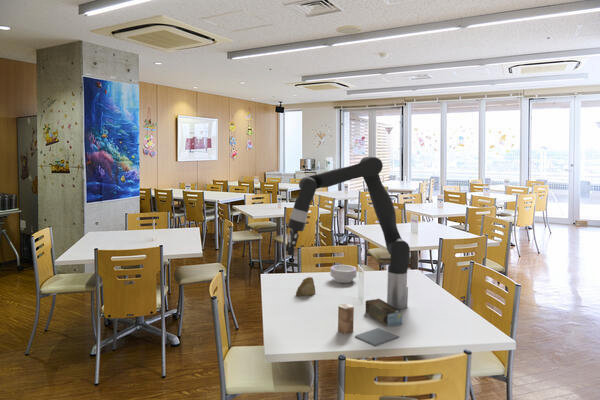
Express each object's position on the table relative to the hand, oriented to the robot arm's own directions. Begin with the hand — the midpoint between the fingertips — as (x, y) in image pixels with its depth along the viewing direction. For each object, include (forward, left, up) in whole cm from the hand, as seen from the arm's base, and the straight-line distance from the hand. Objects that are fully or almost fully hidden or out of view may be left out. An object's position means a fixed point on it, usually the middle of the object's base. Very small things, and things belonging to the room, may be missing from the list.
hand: (288, 253), depth 210 cm
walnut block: (-5, +33, -28) cm, 44 cm away
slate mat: (-11, +45, -28) cm, 54 cm away
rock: (-23, -16, -28) cm, 40 cm away
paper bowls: (-57, -23, -28) cm, 68 cm away
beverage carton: (-29, +32, -28) cm, 52 cm away
